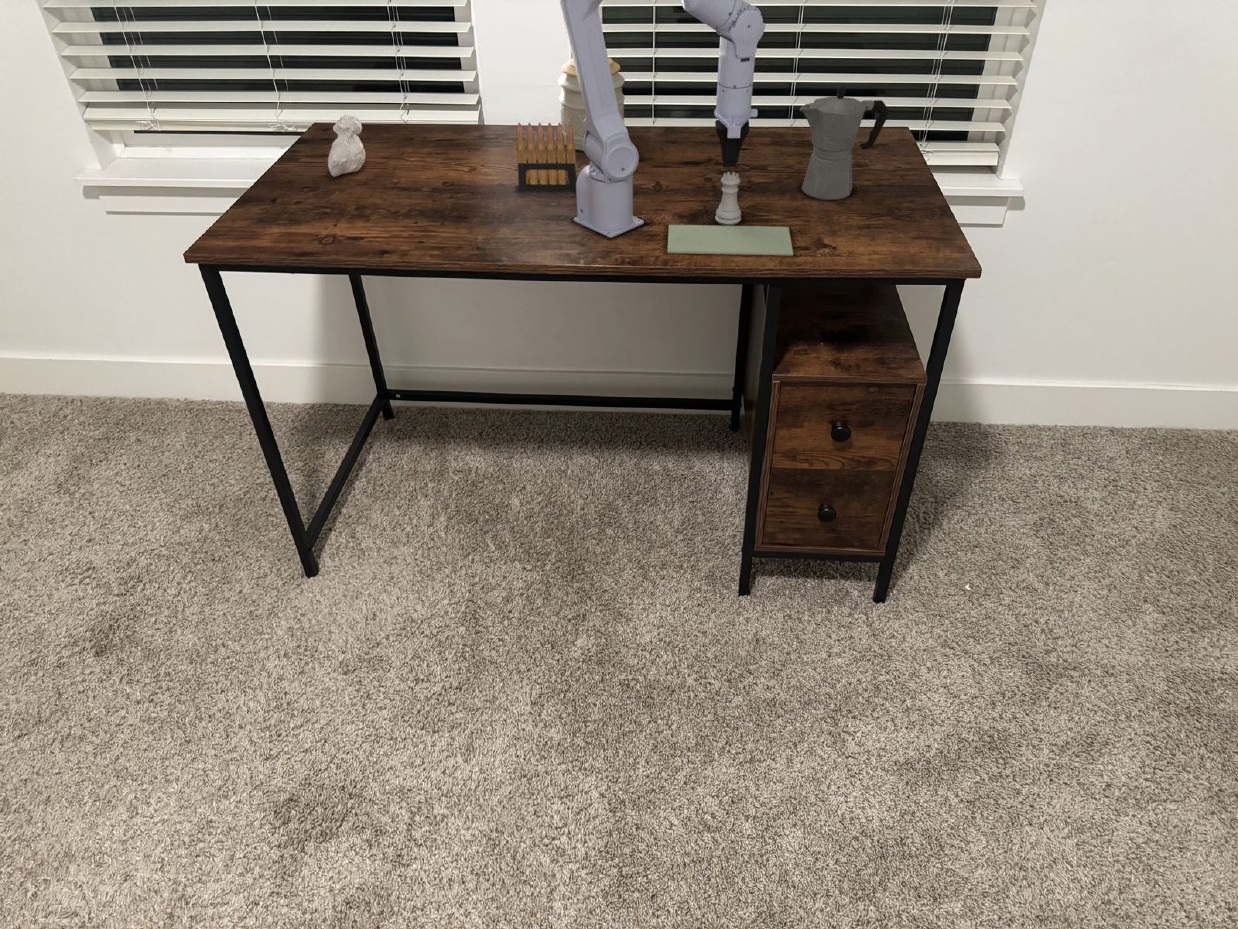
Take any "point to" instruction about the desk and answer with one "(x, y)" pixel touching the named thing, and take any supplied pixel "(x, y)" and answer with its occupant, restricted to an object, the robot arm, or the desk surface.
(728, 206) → the rook chess piece
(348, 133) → the white tied sack
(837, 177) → the coffeepot
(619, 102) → the jar
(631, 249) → the desk surface
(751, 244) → the mat
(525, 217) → the desk surface
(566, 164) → the ammunition clip
